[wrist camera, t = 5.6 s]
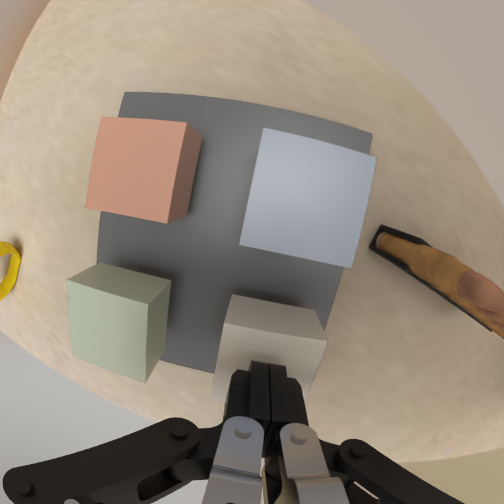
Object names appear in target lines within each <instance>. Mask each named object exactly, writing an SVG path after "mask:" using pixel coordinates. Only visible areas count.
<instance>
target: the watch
mask: <svg viewBox="0 0 504 504" xmlns="http://www.w3.org/2000/svg"><path fill="white" fill-rule="evenodd" d="M7 253H9V254H11V259H10V263H9V268H8V273H7V275H6V276H5V278H4V279H3V280H2V282H1V283H0V301H1V300H2V299H3V298H4V297H5V296H6V295H7V294H8V292H10V291H11V289H12V288H13V286H14V285H15V283H16V279H17V274H18V270H19V265H20V261H22V260H21V257H20V255H19V253H18V251H17V250H16V249H15V248H14V247H13V246H12V245H11V244H10V243H7V242H3V241H2V242H0V256H3V255H5V254H7Z"/></svg>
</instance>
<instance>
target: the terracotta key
mask: <svg viewBox="0 0 504 504" xmlns="http://www.w3.org/2000/svg"><path fill="white" fill-rule="evenodd" d="M202 138H203V136H202V135H201V134H199V133H198V132H197V131H196V130H195V129H194V128H193V127H191V126H190V125H189V124H188V123H186V122H176V121H166V120H154V119H140V118H119V117H102V118H101V122H100V126H99V130H98V135H97V139H96V144H95V149H94V154H93V159H92V165H91V171H90V177H89V184H88V191H87V199H86V208H90V209H95V210H100V211H105V212H110V213H116V214H121V215H126V216H131V217H136V218H141V219H146V220H151V221H157V222H162V223H167V224H168V223H170V222H173V221H176V220H178V219H181V218H184V217H187V213H188V208H189V202H190V197H191V191H192V186H193V181H194V176H195V171H196V166H197V161H198V156H199V151H200V147H201V142H202Z"/></svg>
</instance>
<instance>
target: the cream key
mask: <svg viewBox="0 0 504 504" xmlns="http://www.w3.org/2000/svg"><path fill="white" fill-rule="evenodd" d="M327 343H328V340H327V338H326V335H325V333H324V330H323V328H322V326H321V323H320V321H319V318H318V316H317V314H316V311H315V310H313V309H307V308H302V307H296V306H291V305H285V304H280V303H275V302H270V301H265V300H259V299H254V298H250V297H245V296H240V295H235V294H232V296H231V300H230V303H229V307H228V310H227V314H226V317H225V321H224V325H223V331H222V336H221V341H220V347H219V352H218V357H217V363H216V368H215V374H214V379H213V385H212V390H211V396H210V400H212V401H217V402H222V403H225V402H226V397H227V393H228V388H229V384H230V380H231V375H232V374H233V373H234V372H235V371H236V370H237V369H240V370H246V371H248V369H249V365H250V362H251V360H253V361H259V362H265V363H268V364H269V363H271V364H278V365H284V366H286V371H287V377H290V378H296V380H297V381H298V382H299V384H300V385H301V387H302V392H303V398H304V401H305V399H306V396H307V394H308V391H309V389H310V387H311V384H312V382H313V379H314V377H315V374H316V372H317V369H318V367H319V364H320V361H321V359H322V356H323V353H324V351H325V348H326V345H327Z"/></svg>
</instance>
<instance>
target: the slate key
mask: <svg viewBox="0 0 504 504" xmlns="http://www.w3.org/2000/svg"><path fill="white" fill-rule="evenodd" d="M376 159H377V158H376V157H373V156H370V155H367V154H364V153H361V152H358V151H354V150H351V149H348V148H344V147H341V146H338V145H334V144H330V143H327V142H323V141H319V140H315V139H311V138H307V137H303V136H299V135H295V134H291V133H286V132H282V131H277V130H272V129H267V128H263V132H262V137H261V142H260V146H259V151H258V156H257V161H256V165H255V170H254V175H253V180H252V184H251V189H250V194H249V199H248V204H247V209H246V213H245V218H244V223H243V228H242V233H241V238H240V243H239V245H243V246H247V247H252V248H257V249H262V250H267V251H271V252H276V253H281V254H286V255H290V256H295V257H300V258H305V259H309V260H314V261H319V262H324V263H328V264H333V265H338V266H343V267H347V268H352V264H353V261H354V257H355V253H356V250H357V246H358V242H359V238H360V234H361V230H362V226H363V222H364V218H365V213H366V209H367V204H368V200H369V195H370V190H371V185H372V180H373V175H374V170H375V164H376Z"/></svg>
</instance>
